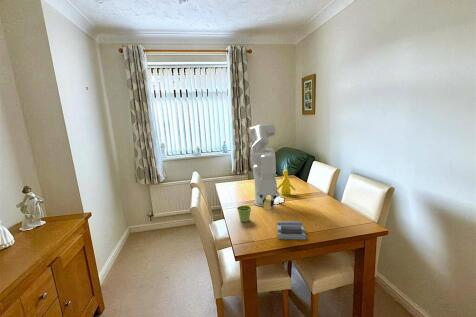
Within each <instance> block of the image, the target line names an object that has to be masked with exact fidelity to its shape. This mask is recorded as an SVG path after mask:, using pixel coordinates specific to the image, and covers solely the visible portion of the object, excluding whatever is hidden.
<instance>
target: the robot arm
mask: <svg viewBox="0 0 476 317" xmlns="http://www.w3.org/2000/svg"><path fill="white" fill-rule="evenodd" d="M248 132H249V136H250V140H251V141H252V143H253V144H252V145H251V148H250V151H249V152H250V160H251V161H250V162H251V163H252V165H253V166H252V172H253V173H252V174H253V181H254V199H255V200H253V205H255V206H258V207H264V201H265V200H266V197H267V196H271V208H273V206H274V204H275V200H276V198H278V197H280V196H281V194H280V192H279V191H278V190H277V187H278V183H277V178H276V177H277V176H278V175H277V174H276V172H277V167H276V166H277V165H276V164H277V162H276V160H277V159H276V153H275V152H276V151H275V149H273V148H266V147H268V145H269V144H270V139H269V138H274V137H276V134H277V129H276V126H275V125H274V124H273V123H272V124H271V123H270V124H269V123H268V124H267V123H266V124H258V125H256V126H251V127H249V131H248Z"/></svg>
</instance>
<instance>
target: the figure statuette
mask: <svg viewBox="0 0 476 317" xmlns="http://www.w3.org/2000/svg"><path fill="white" fill-rule="evenodd" d="M282 174H283V176H284V177H283V178H282V180H281V182H280V183H279V185H277V191H278V190H279V189H280V188H281V189H280V192H281V195H282V196H289V195H291V189H292V190H293V191H294V192H295V191H296V190H297V189H296V188H295V187H294V185H292V183H291V181H290V179H289V178H288V176H289V172H288V169H284V170H283V172H282Z"/></svg>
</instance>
